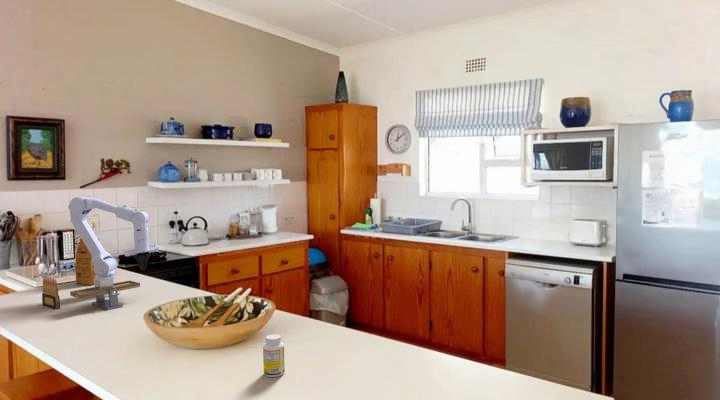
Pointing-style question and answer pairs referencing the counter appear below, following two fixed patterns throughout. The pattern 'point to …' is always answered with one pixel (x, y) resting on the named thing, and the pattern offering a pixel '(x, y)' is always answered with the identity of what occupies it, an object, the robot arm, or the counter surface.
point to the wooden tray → (93, 292)
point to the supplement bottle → (273, 356)
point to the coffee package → (84, 265)
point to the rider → (103, 283)
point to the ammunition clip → (50, 293)
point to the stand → (110, 303)
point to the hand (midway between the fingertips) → (142, 270)
